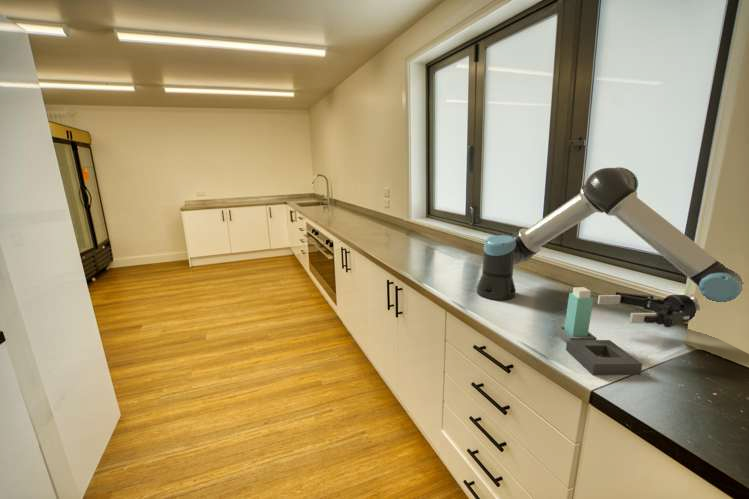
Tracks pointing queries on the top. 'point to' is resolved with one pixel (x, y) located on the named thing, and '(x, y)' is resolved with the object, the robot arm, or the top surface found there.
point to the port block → (612, 365)
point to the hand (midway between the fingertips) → (613, 308)
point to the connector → (578, 312)
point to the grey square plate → (566, 336)
